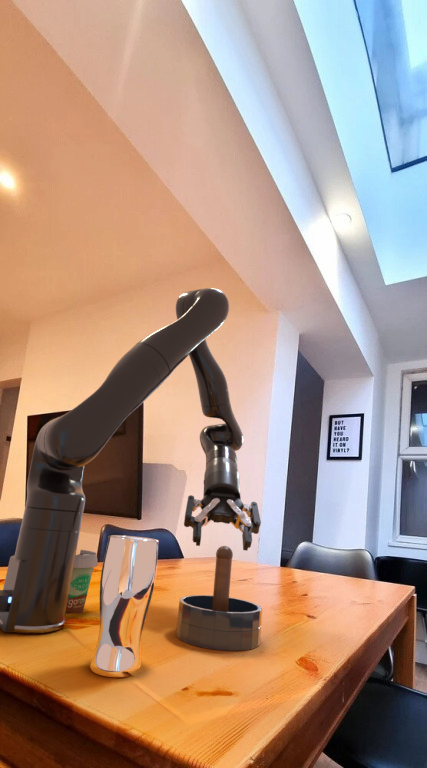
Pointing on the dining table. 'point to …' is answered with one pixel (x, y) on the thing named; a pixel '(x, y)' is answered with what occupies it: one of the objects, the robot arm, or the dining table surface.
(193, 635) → the bowl
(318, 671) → the dining table surface
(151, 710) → the dining table surface
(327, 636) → the dining table surface
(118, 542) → the beer glass
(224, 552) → the rod
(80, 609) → the food container
